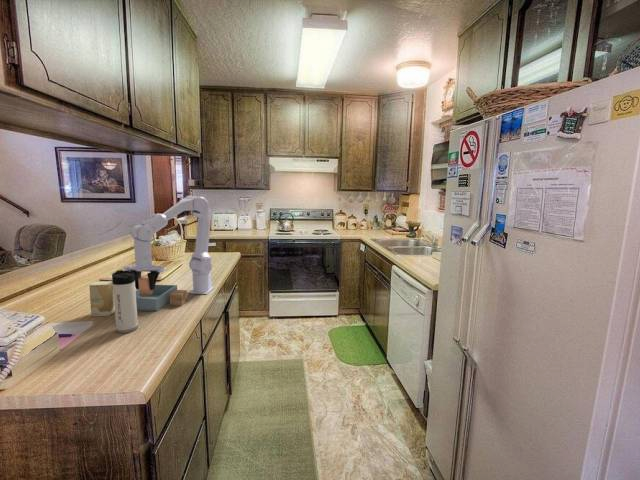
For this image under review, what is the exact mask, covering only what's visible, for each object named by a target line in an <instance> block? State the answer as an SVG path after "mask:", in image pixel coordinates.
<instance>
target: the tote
mask: <svg viewBox="0 0 640 480" xmlns="http://www.w3.org/2000/svg"><path fill="white" fill-rule="evenodd" d="M174 290H178V285H177V284H157V283H156V284H155V289H153V293H154V294H153V295H151V296H146V297H141V296H139V289H135V291H136V305H137V312H156V311H157V312H158V311H160V310H161V309H162V308H163V307H165V306H166V305H167V304H170V293H172V292H173V291H174ZM159 309H160V310H159Z"/></svg>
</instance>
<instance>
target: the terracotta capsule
mask: <svg viewBox="0 0 640 480" xmlns="http://www.w3.org/2000/svg"><path fill="white" fill-rule="evenodd" d="M138 286H139V296H141V297H146V296H151V295H153V294H154V293H153V290H150V283H149V278H148V276H147V275H144V276H143V275H141V277H139V278H138Z"/></svg>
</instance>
